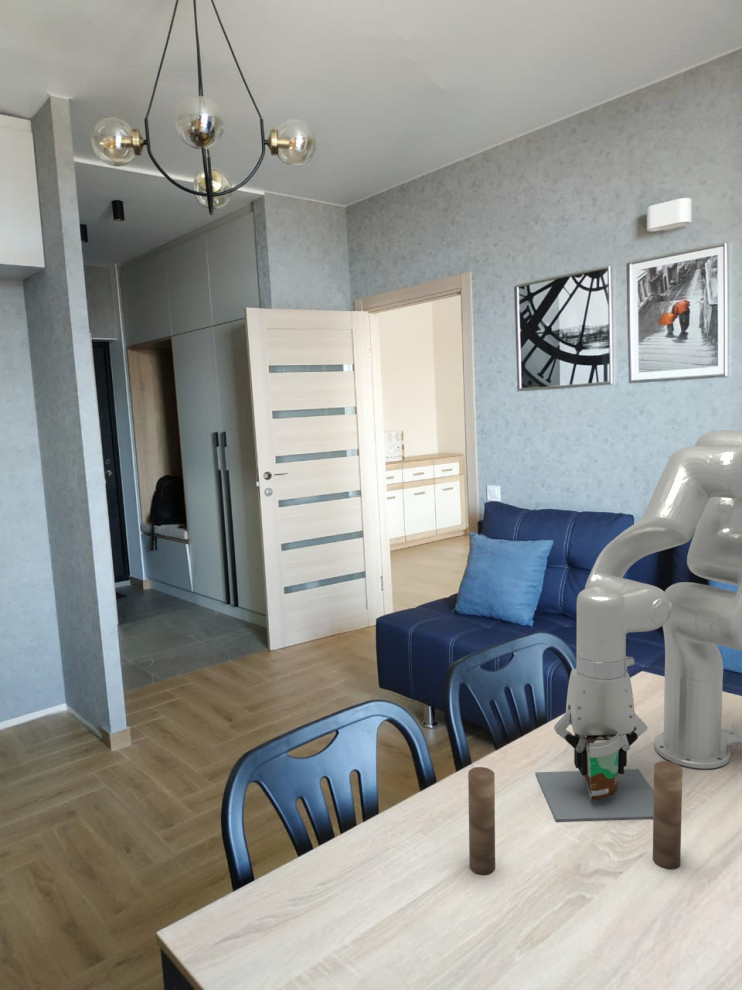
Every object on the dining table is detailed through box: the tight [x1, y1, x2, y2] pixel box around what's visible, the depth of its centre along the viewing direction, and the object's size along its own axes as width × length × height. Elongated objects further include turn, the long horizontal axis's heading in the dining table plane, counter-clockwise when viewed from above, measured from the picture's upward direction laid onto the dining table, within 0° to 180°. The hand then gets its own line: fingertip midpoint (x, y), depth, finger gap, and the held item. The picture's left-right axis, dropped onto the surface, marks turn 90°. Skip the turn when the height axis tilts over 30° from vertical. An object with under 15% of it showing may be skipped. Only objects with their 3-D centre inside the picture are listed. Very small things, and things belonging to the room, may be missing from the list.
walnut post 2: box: [652, 760, 683, 870], centre depth 98 cm, size 4×4×14 cm
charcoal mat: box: [535, 768, 654, 823], centre depth 115 cm, size 18×14×1 cm
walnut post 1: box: [467, 766, 496, 876], centre depth 98 cm, size 4×4×14 cm
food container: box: [584, 733, 623, 800], centre depth 115 cm, size 12×6×10 cm, turn 173°
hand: (600, 769), depth 115 cm, fingers closed on food container, 5 cm apart
